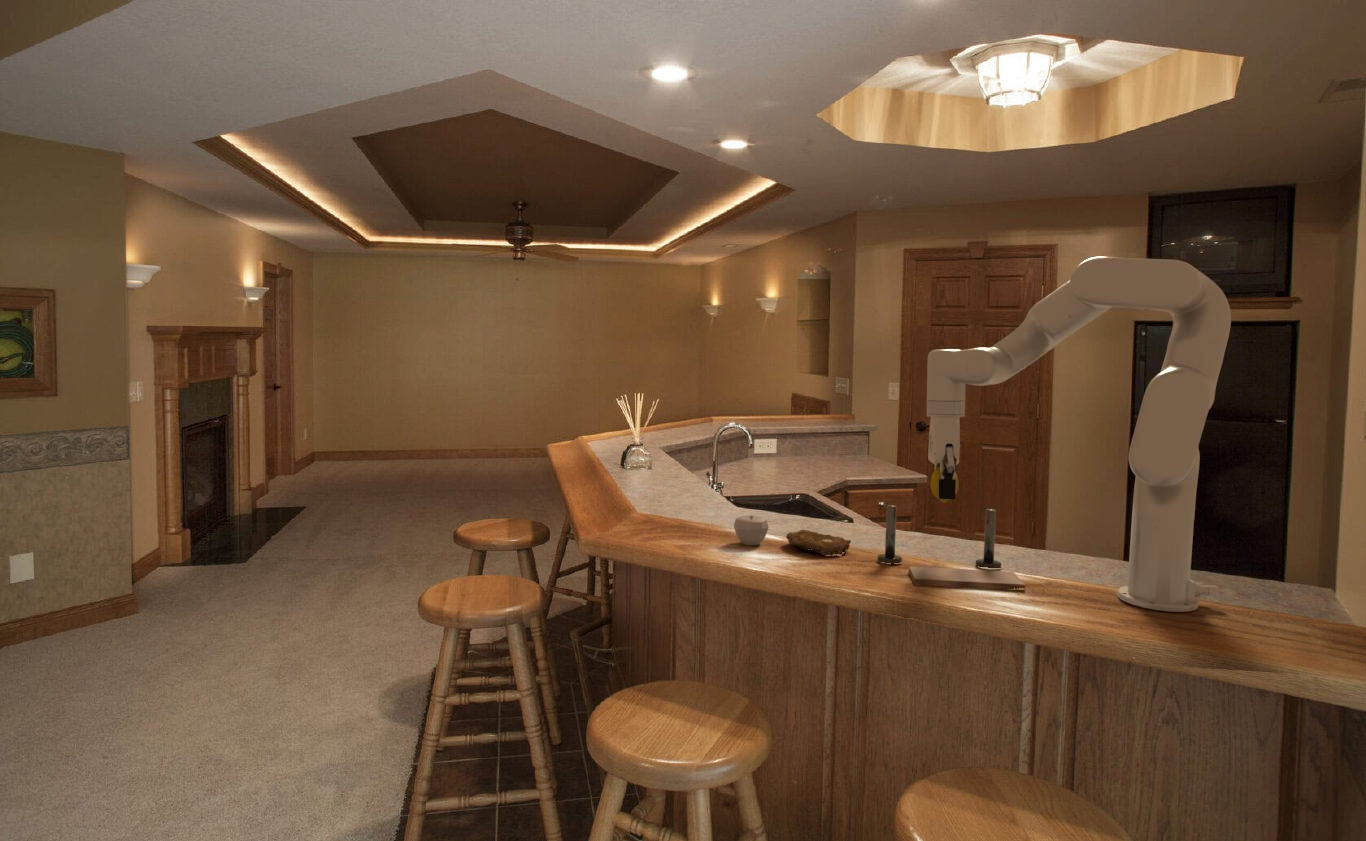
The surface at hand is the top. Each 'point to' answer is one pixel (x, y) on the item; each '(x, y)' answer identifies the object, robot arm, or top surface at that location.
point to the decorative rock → (818, 542)
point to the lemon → (935, 484)
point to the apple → (751, 529)
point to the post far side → (890, 537)
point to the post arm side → (989, 542)
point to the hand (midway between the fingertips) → (944, 495)
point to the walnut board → (965, 578)
